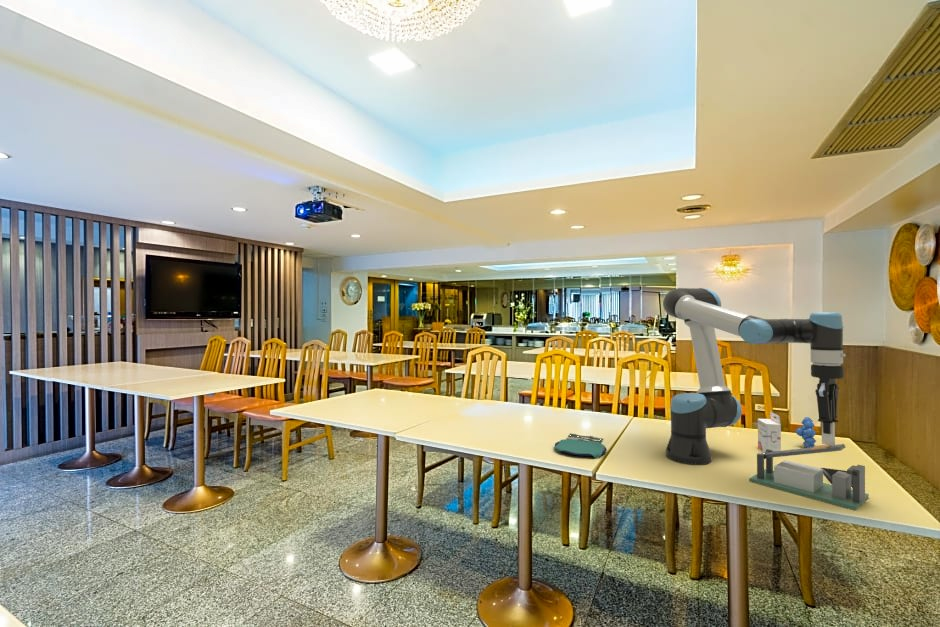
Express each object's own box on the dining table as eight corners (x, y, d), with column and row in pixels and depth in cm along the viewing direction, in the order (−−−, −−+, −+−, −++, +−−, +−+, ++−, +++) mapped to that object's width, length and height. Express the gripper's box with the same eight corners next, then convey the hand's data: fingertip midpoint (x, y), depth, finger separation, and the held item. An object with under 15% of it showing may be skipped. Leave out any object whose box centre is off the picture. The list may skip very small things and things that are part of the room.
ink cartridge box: (756, 447, 175) (756, 410, 175) (770, 448, 174) (770, 411, 174) (766, 454, 166) (766, 415, 166) (781, 455, 165) (781, 416, 165)
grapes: (792, 442, 181) (792, 413, 181) (812, 444, 178) (812, 415, 178) (797, 450, 171) (797, 419, 171) (819, 452, 168) (819, 421, 168)
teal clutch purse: (549, 454, 167) (549, 448, 167) (565, 436, 194) (565, 430, 194) (603, 462, 158) (603, 456, 158) (612, 441, 186) (612, 436, 186)
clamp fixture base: (749, 481, 140) (749, 450, 140) (766, 471, 148) (766, 442, 148) (855, 510, 119) (855, 473, 119) (868, 497, 127) (868, 463, 127)
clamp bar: (760, 459, 141) (757, 454, 142) (766, 456, 144) (764, 451, 145) (841, 452, 125) (838, 445, 125) (846, 448, 128) (843, 442, 128)
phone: (831, 482, 137) (819, 467, 150) (831, 485, 137) (819, 470, 150) (864, 486, 133) (849, 471, 147) (864, 490, 133) (849, 474, 147)
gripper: (836, 366, 122) (838, 451, 122) (849, 363, 130) (850, 443, 130) (804, 364, 128) (805, 445, 128) (818, 361, 136) (819, 437, 136)
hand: (828, 444), depth 129 cm, fingers closed
